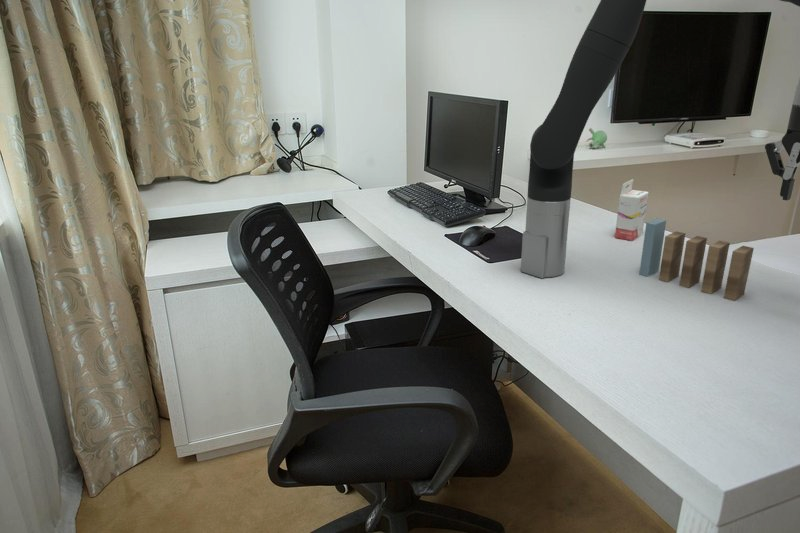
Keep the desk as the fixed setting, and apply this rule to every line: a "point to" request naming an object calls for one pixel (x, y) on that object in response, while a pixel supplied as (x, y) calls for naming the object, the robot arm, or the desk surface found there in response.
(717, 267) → the tile
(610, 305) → the desk surface
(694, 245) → the tile
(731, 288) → the tile
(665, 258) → the tile
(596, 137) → the frog
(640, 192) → the ink cartridge box
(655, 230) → the end tile
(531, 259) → the robot arm
